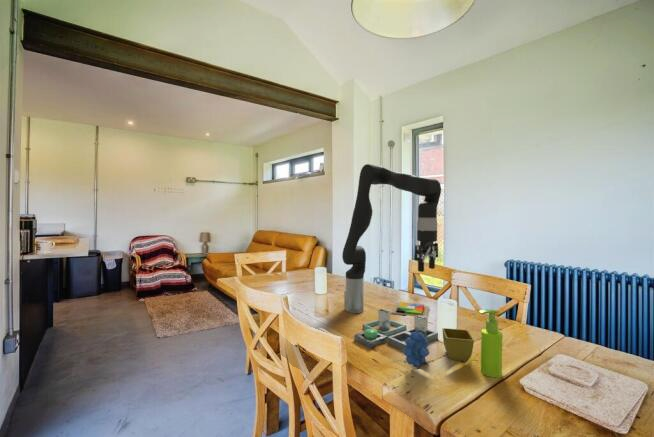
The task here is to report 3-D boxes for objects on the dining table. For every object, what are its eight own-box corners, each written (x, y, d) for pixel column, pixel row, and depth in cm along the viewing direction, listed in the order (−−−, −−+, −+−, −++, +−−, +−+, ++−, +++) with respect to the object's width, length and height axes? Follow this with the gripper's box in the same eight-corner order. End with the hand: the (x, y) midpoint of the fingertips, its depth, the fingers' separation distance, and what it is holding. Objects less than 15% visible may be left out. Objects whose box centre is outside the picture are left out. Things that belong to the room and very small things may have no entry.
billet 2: (411, 337, 122) (411, 316, 122) (419, 334, 125) (419, 313, 125) (422, 341, 118) (422, 319, 118) (430, 338, 121) (430, 317, 121)
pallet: (406, 354, 110) (406, 345, 110) (387, 345, 117) (387, 337, 117) (437, 341, 121) (438, 332, 121) (418, 334, 128) (418, 326, 128)
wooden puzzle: (389, 316, 151) (389, 309, 151) (396, 305, 169) (396, 299, 169) (426, 321, 145) (426, 313, 145) (429, 309, 162) (429, 302, 162)
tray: (362, 330, 132) (362, 324, 132) (385, 323, 140) (385, 317, 140) (383, 340, 122) (383, 333, 122) (406, 332, 130) (406, 325, 130)
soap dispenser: (474, 368, 100) (474, 307, 100) (494, 367, 101) (495, 307, 100) (484, 378, 94) (485, 313, 94) (506, 377, 95) (507, 313, 95)
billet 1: (375, 329, 132) (376, 309, 131) (384, 326, 134) (384, 307, 134) (384, 332, 127) (384, 312, 127) (392, 330, 130) (392, 310, 130)
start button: (361, 338, 120) (361, 330, 120) (370, 335, 123) (370, 327, 123) (370, 342, 116) (370, 334, 116) (380, 339, 119) (380, 331, 119)
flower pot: (474, 366, 101) (474, 339, 101) (446, 364, 103) (446, 337, 103) (467, 354, 110) (467, 329, 110) (441, 352, 112) (442, 327, 112)
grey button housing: (354, 342, 120) (354, 334, 120) (370, 336, 126) (370, 329, 125) (370, 350, 113) (370, 342, 113) (387, 344, 118) (387, 336, 118)
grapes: (415, 378, 94) (415, 339, 94) (398, 369, 100) (398, 332, 99) (438, 367, 101) (439, 331, 100) (421, 359, 106) (421, 325, 106)
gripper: (427, 228, 129) (426, 266, 129) (408, 229, 119) (408, 271, 120) (444, 228, 123) (443, 269, 124) (426, 230, 114) (426, 274, 114)
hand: (426, 270), depth 122 cm, fingers open, 8 cm apart
